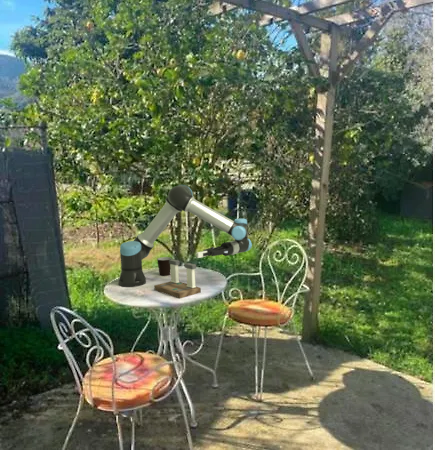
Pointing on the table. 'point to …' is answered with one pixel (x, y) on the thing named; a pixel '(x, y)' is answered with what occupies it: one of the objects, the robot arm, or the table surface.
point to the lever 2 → (190, 275)
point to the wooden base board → (176, 289)
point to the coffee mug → (164, 266)
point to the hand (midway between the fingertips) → (197, 255)
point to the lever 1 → (174, 270)
